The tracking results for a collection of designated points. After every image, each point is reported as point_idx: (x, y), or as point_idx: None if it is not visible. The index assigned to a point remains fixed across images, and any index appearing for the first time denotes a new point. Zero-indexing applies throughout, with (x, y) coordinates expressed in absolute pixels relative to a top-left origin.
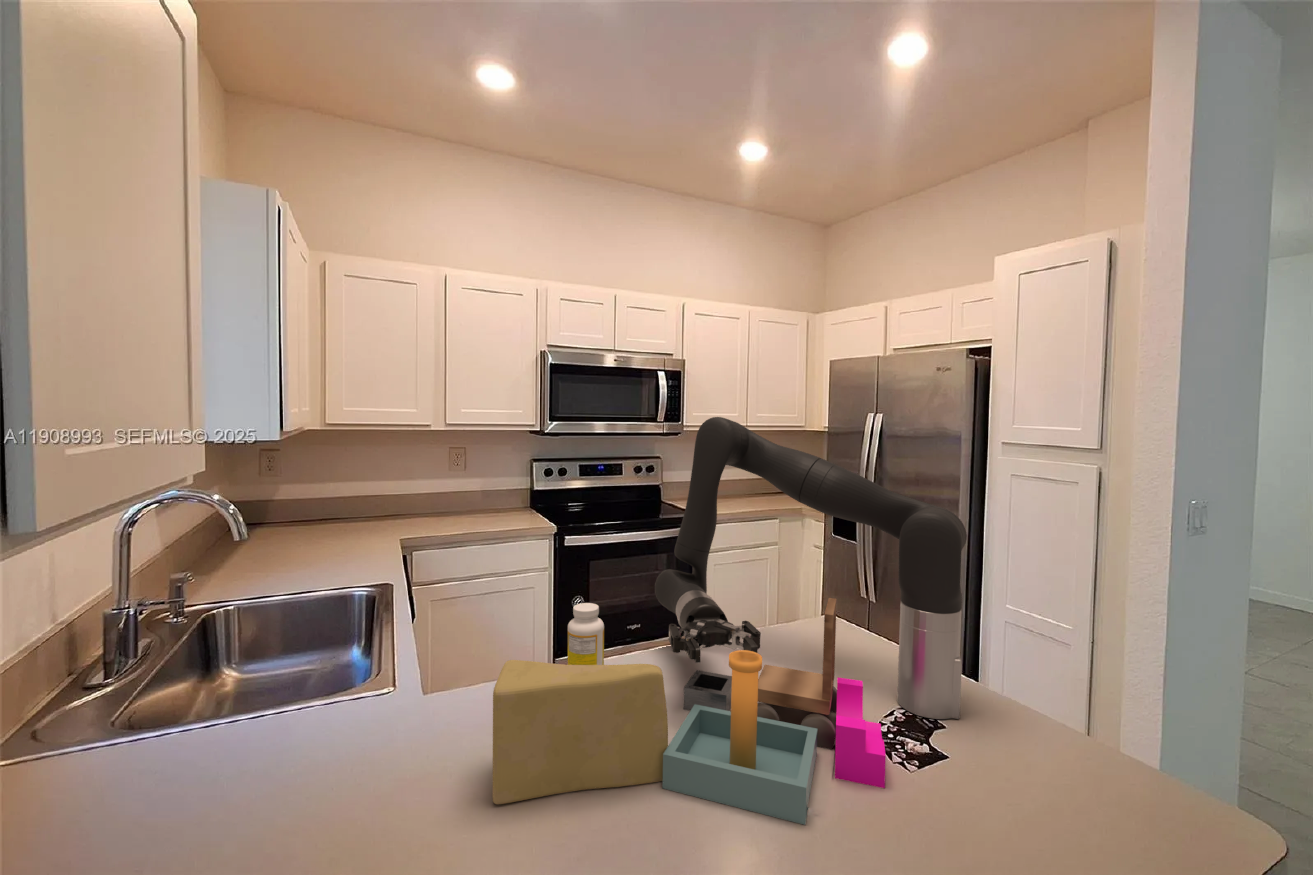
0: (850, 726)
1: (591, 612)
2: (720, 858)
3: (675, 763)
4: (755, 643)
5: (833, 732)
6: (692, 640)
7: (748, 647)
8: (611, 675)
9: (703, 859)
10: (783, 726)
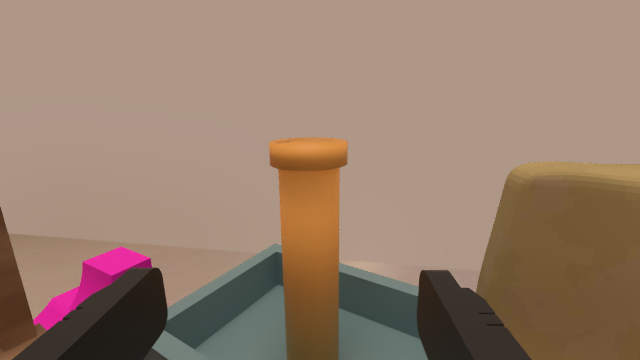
0: (132, 253)
1: None
2: (382, 266)
3: None
4: (64, 317)
5: None
6: (494, 354)
7: (137, 309)
8: (628, 164)
9: (399, 267)
10: (191, 349)
